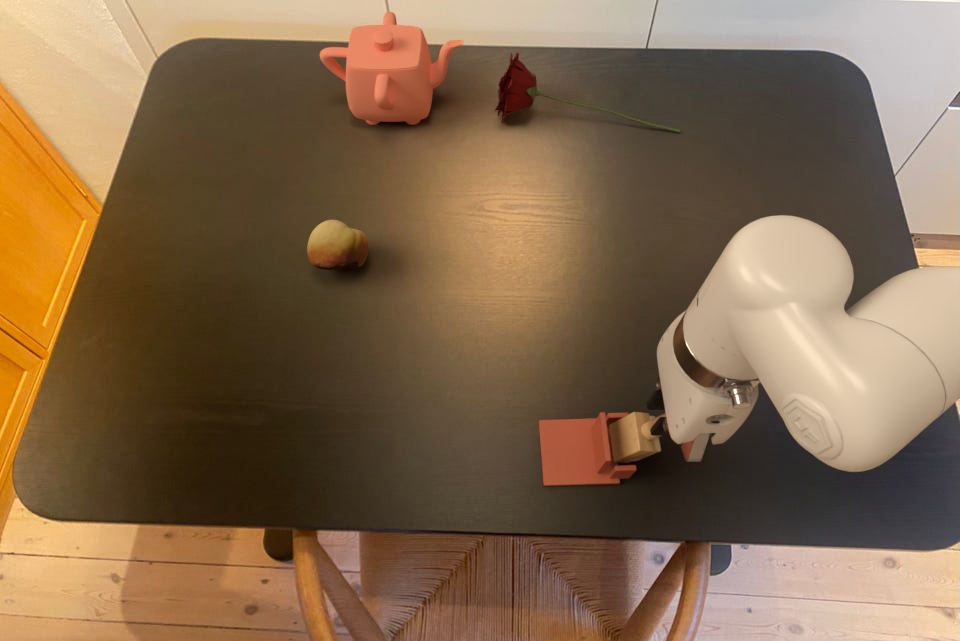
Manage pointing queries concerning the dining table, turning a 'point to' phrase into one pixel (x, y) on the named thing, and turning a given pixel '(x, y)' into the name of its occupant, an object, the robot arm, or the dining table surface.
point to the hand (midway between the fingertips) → (663, 418)
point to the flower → (534, 93)
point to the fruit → (337, 246)
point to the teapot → (389, 71)
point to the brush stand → (580, 452)
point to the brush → (634, 437)
